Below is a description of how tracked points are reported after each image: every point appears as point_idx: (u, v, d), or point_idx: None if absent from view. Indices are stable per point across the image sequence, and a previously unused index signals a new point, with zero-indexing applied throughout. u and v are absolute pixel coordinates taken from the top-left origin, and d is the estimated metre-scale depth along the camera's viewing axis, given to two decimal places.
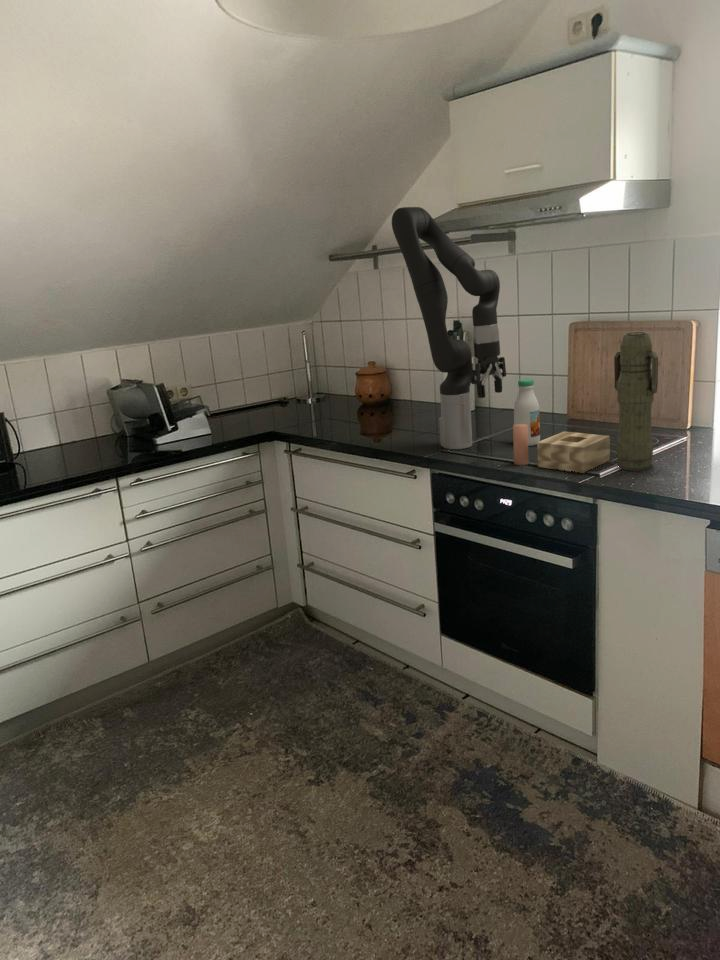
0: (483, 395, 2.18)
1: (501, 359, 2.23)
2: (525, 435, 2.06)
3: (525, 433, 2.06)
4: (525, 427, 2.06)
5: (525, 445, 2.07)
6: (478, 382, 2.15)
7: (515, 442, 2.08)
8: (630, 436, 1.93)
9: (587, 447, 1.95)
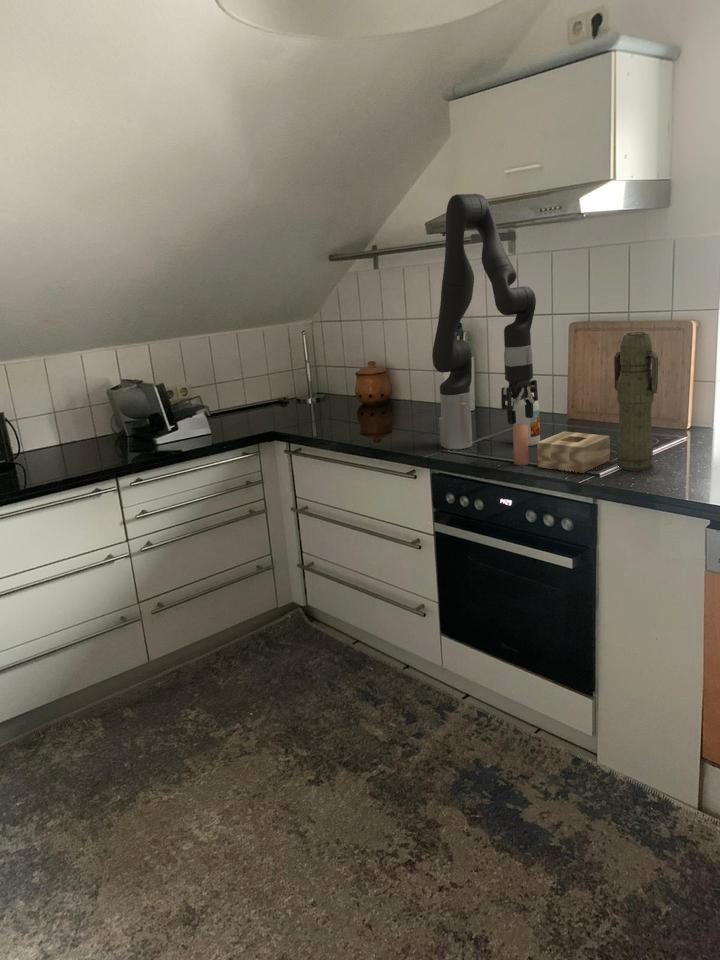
0: (514, 421, 2.03)
1: (533, 382, 2.07)
2: (525, 435, 2.06)
3: (525, 433, 2.06)
4: (525, 427, 2.06)
5: (525, 445, 2.07)
6: (509, 408, 2.00)
7: (515, 442, 2.08)
8: (630, 436, 1.93)
9: (587, 447, 1.95)
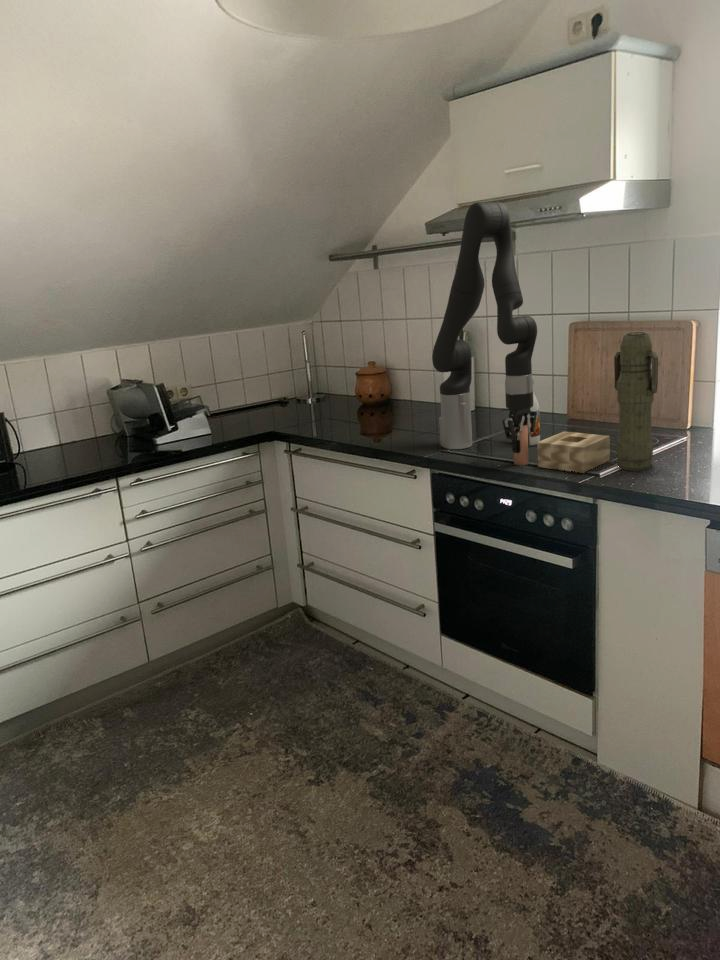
0: (518, 450, 2.07)
1: (533, 413, 2.10)
2: (525, 435, 2.06)
3: (525, 433, 2.06)
4: (525, 427, 2.06)
5: (525, 445, 2.07)
6: (514, 437, 2.04)
7: None
8: (630, 436, 1.93)
9: (587, 447, 1.95)
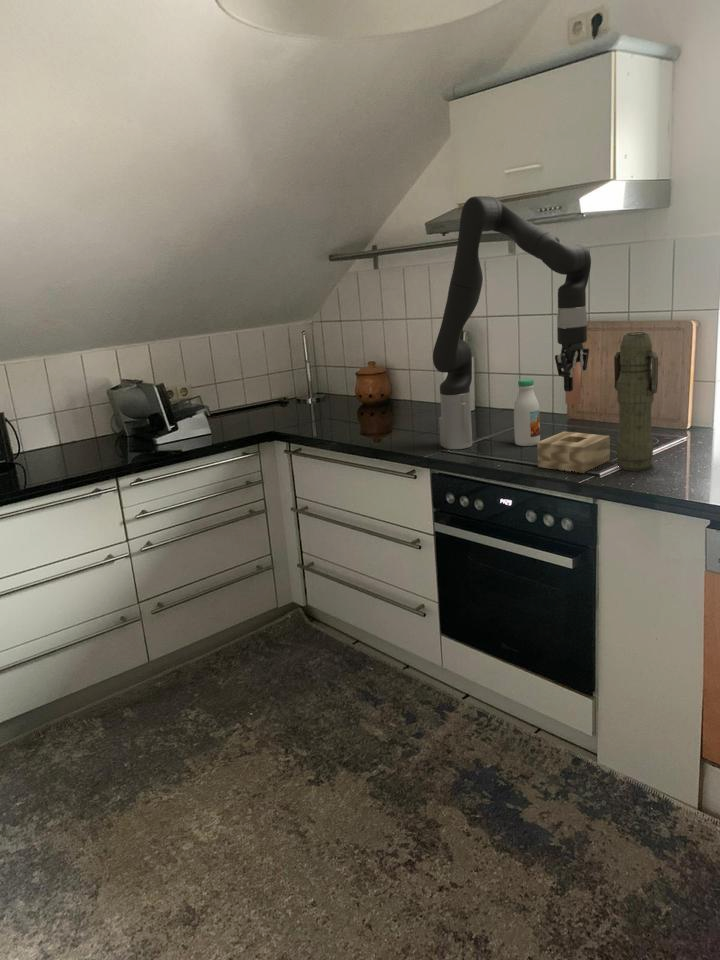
0: (570, 388, 1.97)
1: (585, 350, 2.00)
2: (578, 372, 1.96)
3: (578, 370, 1.96)
4: (578, 363, 1.96)
5: (577, 383, 1.97)
6: (567, 374, 1.94)
7: None
8: (630, 436, 1.93)
9: (587, 447, 1.95)
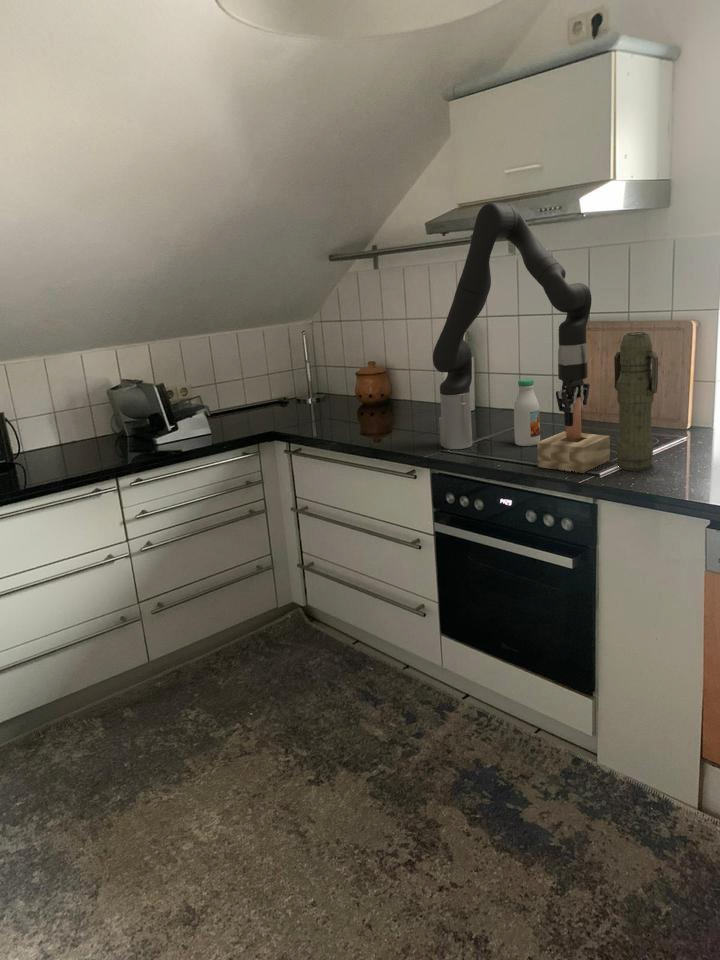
0: (571, 423, 2.00)
1: (586, 385, 2.03)
2: (578, 407, 1.99)
3: (579, 405, 1.99)
4: (579, 399, 1.99)
5: (578, 418, 2.00)
6: (567, 410, 1.97)
7: None
8: (630, 436, 1.93)
9: (587, 447, 1.95)
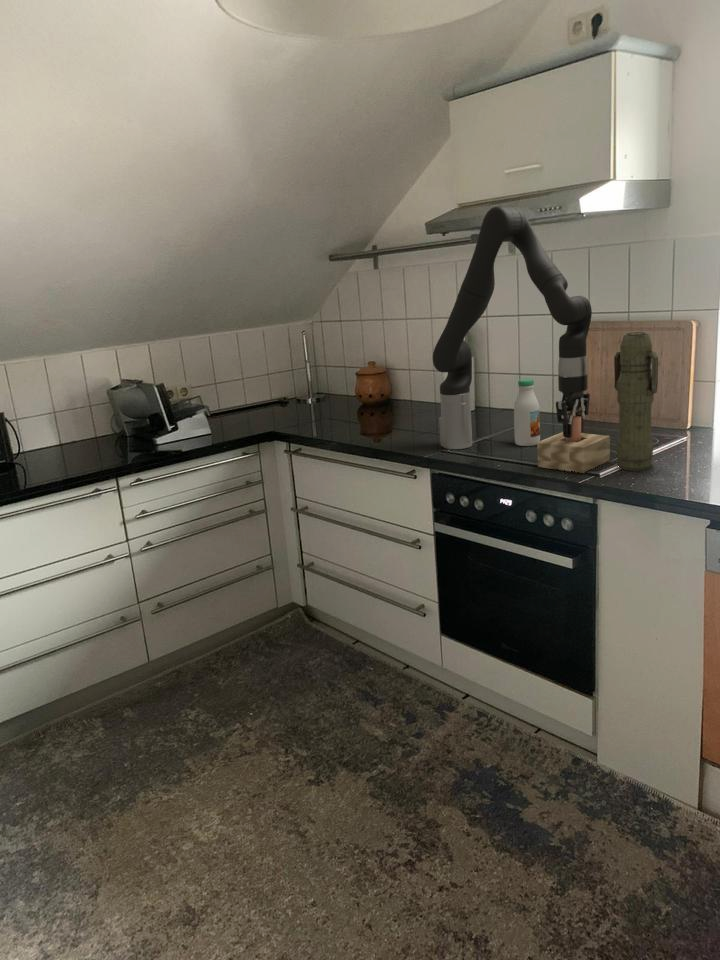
0: (569, 435, 2.00)
1: (586, 395, 2.03)
2: (578, 427, 2.01)
3: (579, 425, 2.01)
4: (579, 419, 2.00)
5: (578, 437, 2.01)
6: (566, 421, 1.97)
7: None
8: (630, 436, 1.93)
9: (587, 447, 1.95)
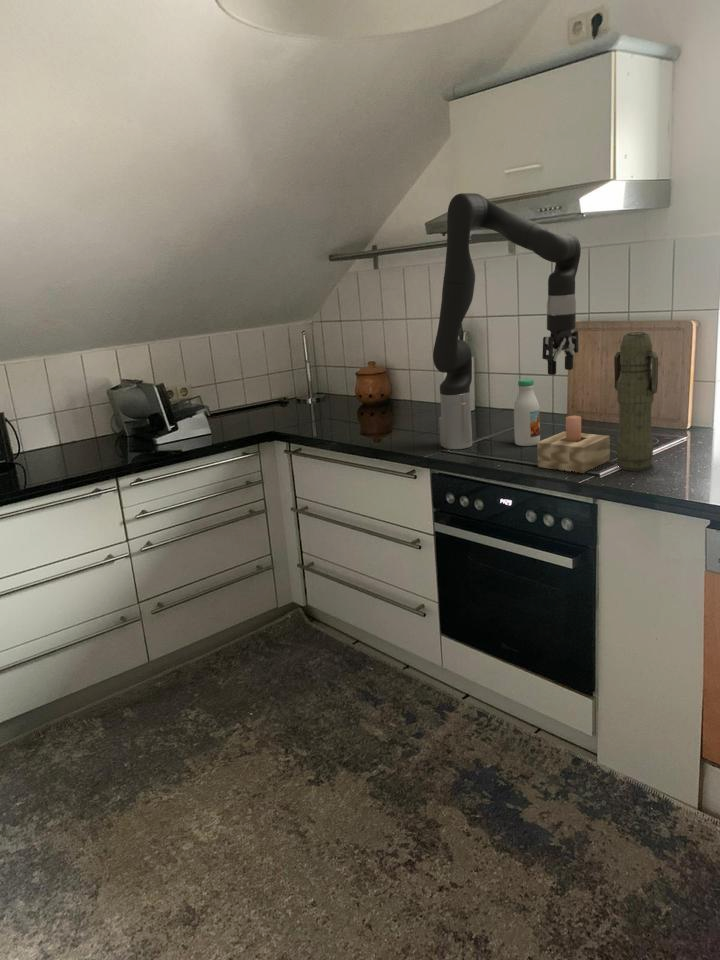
0: (554, 372, 2.01)
1: (574, 333, 2.05)
2: (578, 427, 2.00)
3: (579, 425, 2.00)
4: (579, 419, 2.00)
5: (578, 438, 2.01)
6: (550, 357, 1.98)
7: (568, 434, 2.02)
8: (630, 436, 1.93)
9: (587, 447, 1.95)
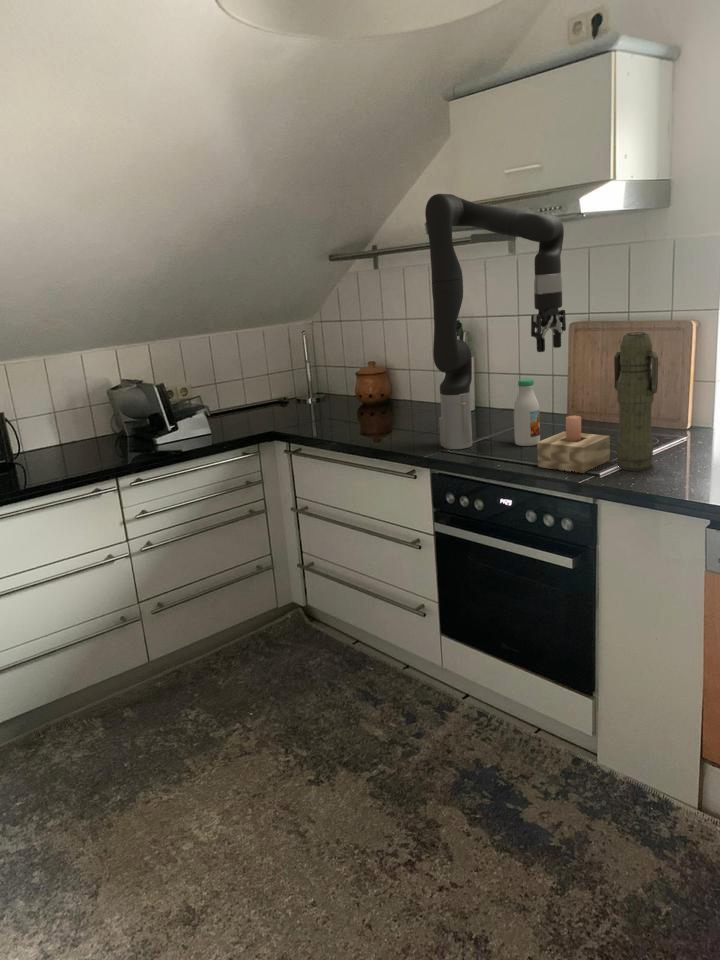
0: (543, 349, 2.07)
1: (561, 312, 2.11)
2: (578, 427, 2.00)
3: (579, 425, 2.00)
4: (579, 419, 2.00)
5: (578, 438, 2.01)
6: (539, 335, 2.04)
7: (568, 434, 2.02)
8: (630, 436, 1.93)
9: (587, 447, 1.95)
